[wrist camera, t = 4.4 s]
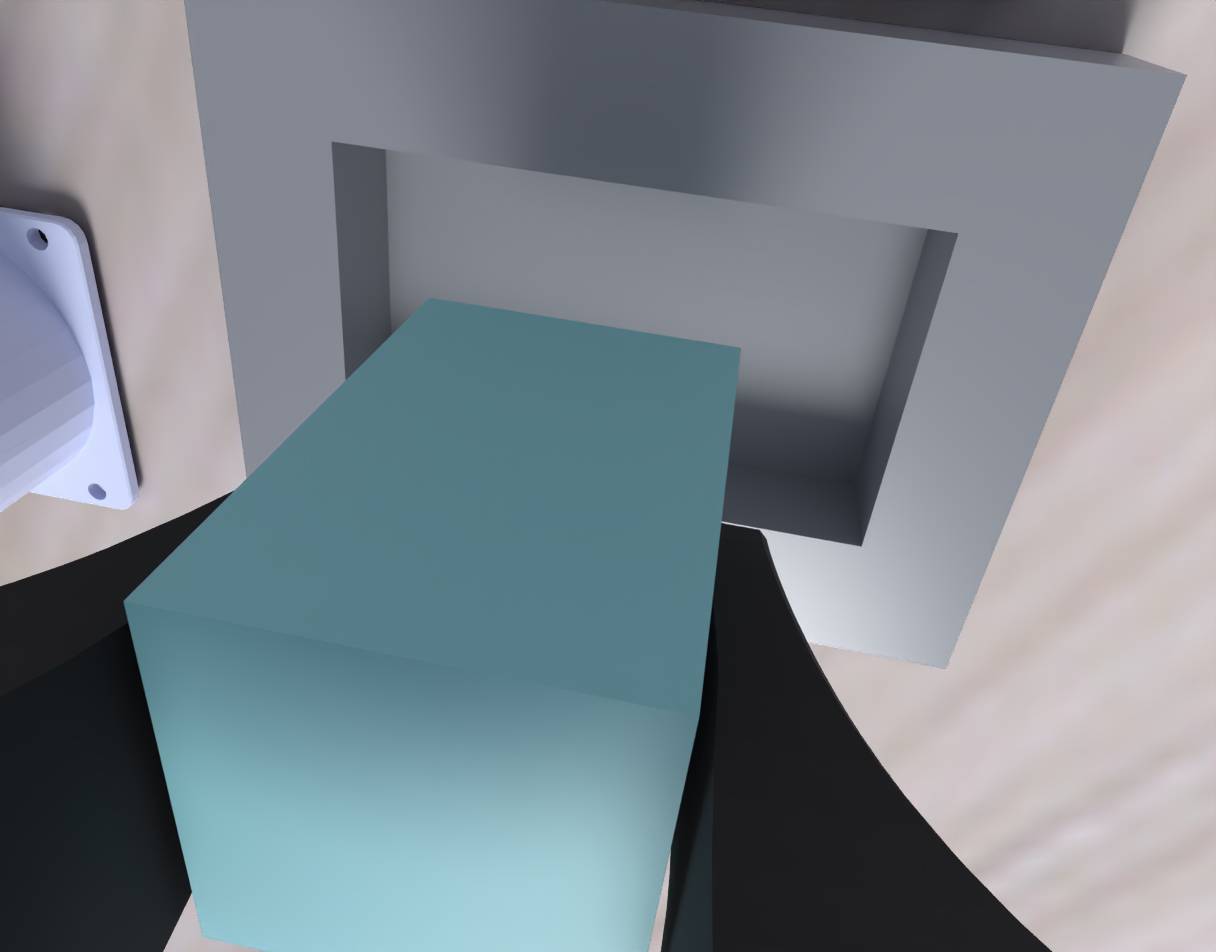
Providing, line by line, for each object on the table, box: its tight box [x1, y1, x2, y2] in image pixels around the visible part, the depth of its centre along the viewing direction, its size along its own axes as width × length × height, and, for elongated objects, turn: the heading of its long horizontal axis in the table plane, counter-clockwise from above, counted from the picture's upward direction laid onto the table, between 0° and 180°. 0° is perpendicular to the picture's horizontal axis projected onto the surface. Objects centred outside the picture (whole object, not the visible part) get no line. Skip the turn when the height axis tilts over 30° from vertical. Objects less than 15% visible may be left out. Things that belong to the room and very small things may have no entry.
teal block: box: [124, 298, 741, 952], centre depth 11 cm, size 4×4×7 cm
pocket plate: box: [184, 0, 1187, 669], centre depth 18 cm, size 16×12×3 cm
